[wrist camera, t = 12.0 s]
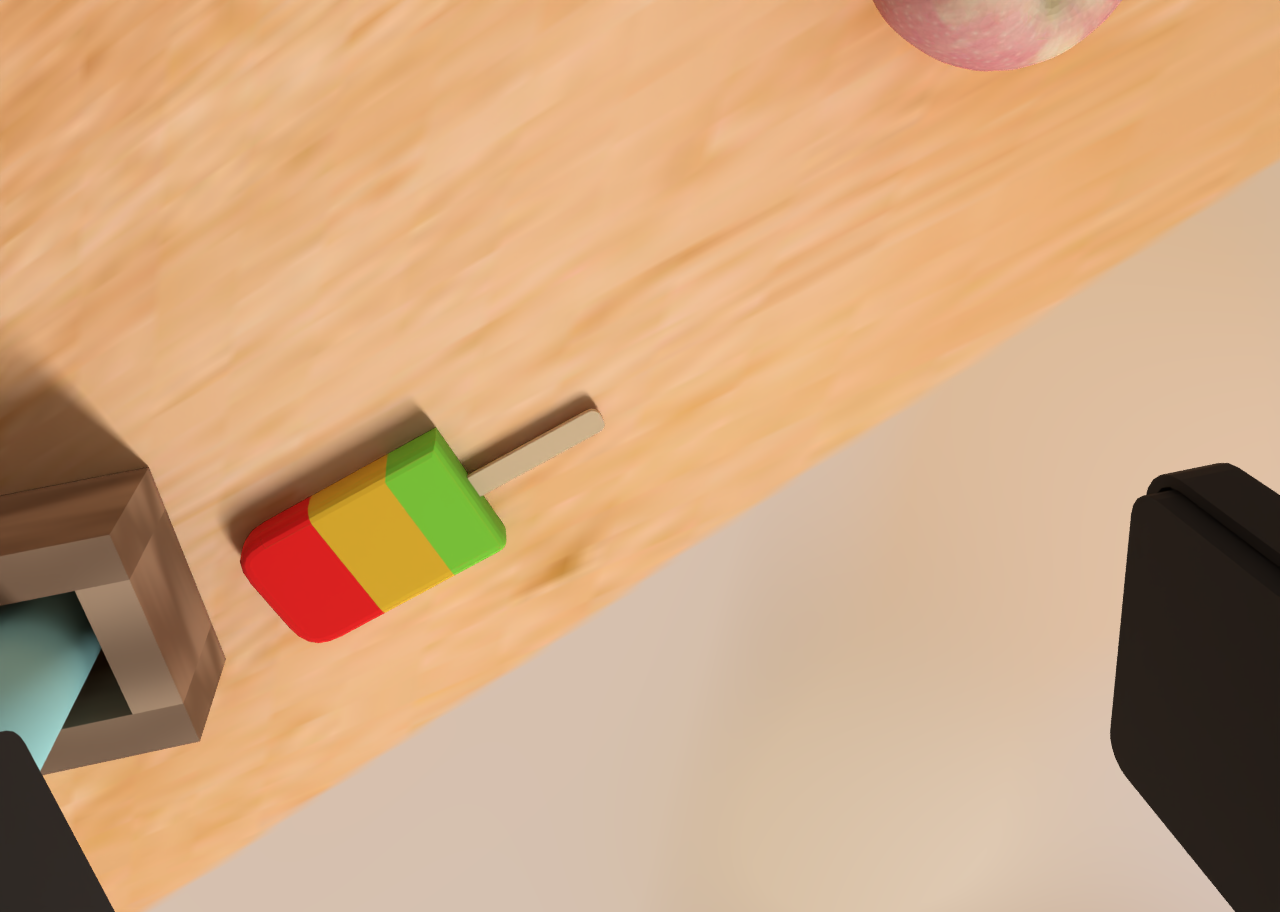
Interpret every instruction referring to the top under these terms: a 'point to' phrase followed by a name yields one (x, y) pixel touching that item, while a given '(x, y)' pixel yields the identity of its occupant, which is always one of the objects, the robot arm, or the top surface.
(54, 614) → the dowel
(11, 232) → the top surface
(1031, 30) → the apple
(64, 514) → the socket block
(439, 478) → the popsicle
